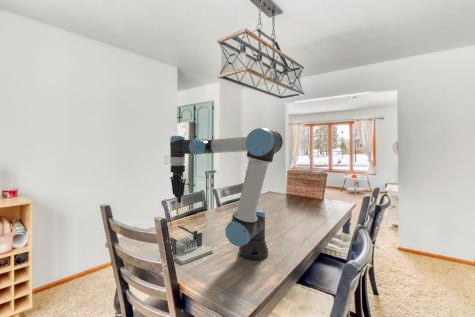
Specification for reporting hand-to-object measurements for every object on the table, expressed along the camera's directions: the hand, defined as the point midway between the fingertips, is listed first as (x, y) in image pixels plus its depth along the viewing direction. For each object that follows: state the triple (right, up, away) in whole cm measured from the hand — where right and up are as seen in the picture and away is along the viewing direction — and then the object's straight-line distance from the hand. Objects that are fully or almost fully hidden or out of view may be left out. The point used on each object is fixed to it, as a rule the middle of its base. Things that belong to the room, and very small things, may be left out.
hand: (178, 208), depth 129 cm
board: (+5, -22, -3) cm, 23 cm away
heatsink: (+5, -21, -3) cm, 21 cm away
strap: (+6, -13, -2) cm, 14 cm away
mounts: (+5, -21, -3) cm, 21 cm away
